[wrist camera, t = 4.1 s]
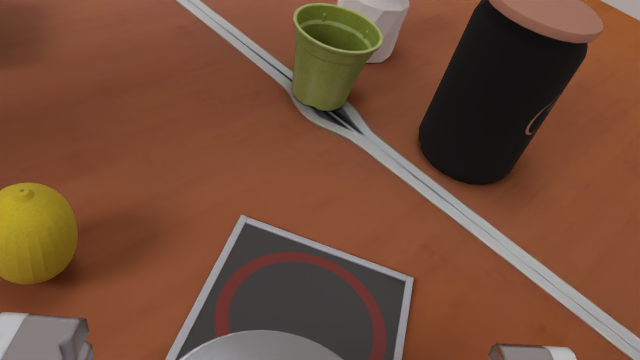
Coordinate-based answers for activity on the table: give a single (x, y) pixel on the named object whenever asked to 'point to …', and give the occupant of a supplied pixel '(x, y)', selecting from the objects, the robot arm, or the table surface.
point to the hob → (299, 296)
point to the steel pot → (261, 347)
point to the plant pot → (330, 53)
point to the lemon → (35, 233)
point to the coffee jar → (504, 84)
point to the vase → (381, 21)
